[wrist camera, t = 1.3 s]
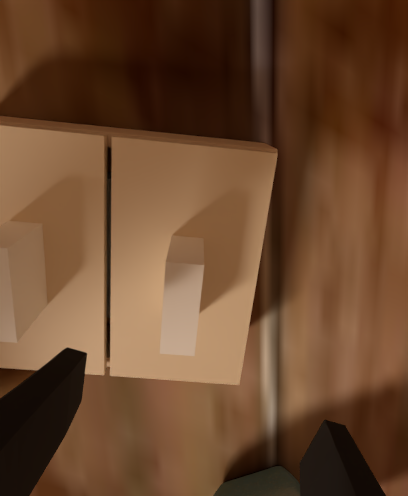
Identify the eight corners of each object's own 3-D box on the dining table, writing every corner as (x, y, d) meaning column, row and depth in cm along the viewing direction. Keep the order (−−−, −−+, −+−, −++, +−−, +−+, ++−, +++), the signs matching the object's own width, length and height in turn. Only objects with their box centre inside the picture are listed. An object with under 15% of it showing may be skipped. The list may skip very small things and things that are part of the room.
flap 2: (112, 369, 19) (93, 423, 16) (114, 135, 15) (89, 142, 11) (238, 378, 19) (246, 433, 16) (275, 152, 15) (296, 163, 12)
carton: (10, 319, 22) (-24, 356, 19) (-12, 114, 18) (-60, 114, 15) (234, 337, 23) (240, 376, 19) (264, 142, 19) (278, 149, 15)
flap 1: (-24, 359, 19) (-72, 412, 15) (-61, 118, 14) (-138, 119, 11) (106, 368, 19) (86, 422, 16) (107, 135, 15) (80, 141, 11)
